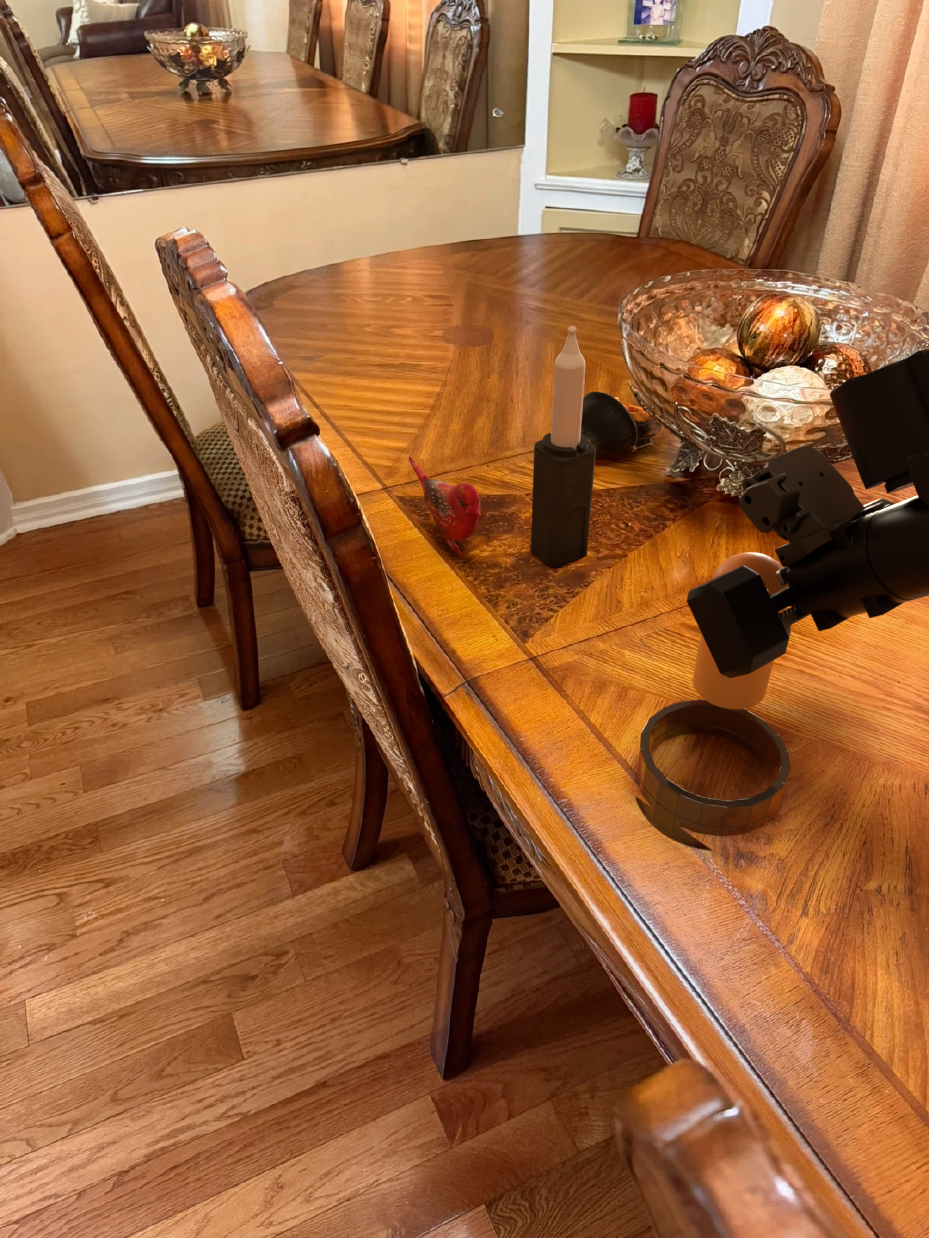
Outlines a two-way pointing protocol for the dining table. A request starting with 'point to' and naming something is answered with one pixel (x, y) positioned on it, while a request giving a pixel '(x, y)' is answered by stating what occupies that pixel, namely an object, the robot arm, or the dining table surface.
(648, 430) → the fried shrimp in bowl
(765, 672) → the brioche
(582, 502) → the candle
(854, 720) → the dining table surface
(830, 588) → the robot arm
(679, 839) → the brown ring
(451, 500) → the decorative bird figurine
